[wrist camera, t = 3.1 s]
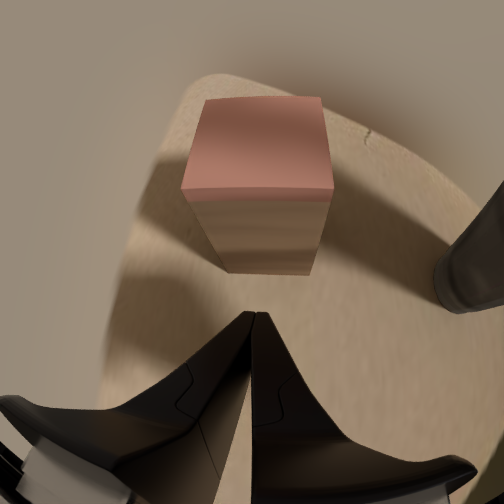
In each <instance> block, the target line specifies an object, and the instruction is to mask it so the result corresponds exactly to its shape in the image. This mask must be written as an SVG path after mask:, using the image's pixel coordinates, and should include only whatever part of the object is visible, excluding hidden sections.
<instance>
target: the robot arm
mask: <svg viewBox="0 0 504 504" xmlns="http://www.w3.org/2000/svg"><path fill="white" fill-rule="evenodd" d="M250 377H251V403H252V481H251V504H450V499H449V495H450V494H451V493H453V492H454V491H456V490H457V489H459V488H460V487H462V486H463V485H465V484H466V483H467V482H469V481H470V480H471V479H473V478H474V477H475V476H476V475H477V473H478V470H477V469H476V468H475V466H474V465H473V464H472V463H470V462H469V461H468V460H465V459H463V458H461V457H459V456H456V455H446V456H442V457H439V458H436V459H432V460H428V461H423V462H411V461H404V460H400V459H397V458H394V457H392V456H389V455H386V454H383V453H381V452H378V451H375V450H373V449H370V448H368V447H365V446H363V445H360V444H358V443H356V442H354V441H352V440H351V439H349V438H348V437H347V436H346V435H345V434H344V433H343V432H342V431H341V430H340V429H339V428H338V426H337V425H336V424H335V423H334V421H333V420H332V419H331V417H330V416H329V415H328V414H327V412H326V411H325V410H324V409H323V407H322V406H321V405H320V403H319V402H318V401H317V399H316V398H315V397H314V395H313V394H312V392H311V391H310V389H309V388H308V386H307V384H306V383H305V381H304V379H303V377H302V375H301V374H300V372H299V370H298V368H297V366H296V364H295V362H294V361H293V359H292V357H291V355H290V353H289V351H288V349H287V347H286V345H285V344H284V342H283V340H282V338H281V336H280V334H279V332H278V330H277V328H276V326H275V324H274V323H273V321H272V319H271V317H270V315H269V313H268V312H256V313H255V312H253V311H243V312H242V313H241V314H240V315H239V316H238V317H236V318H235V319H234V320H233V321H232V322H231V323H230V324H228V325H227V326H226V327H225V328H224V329H223V330H222V331H221V332H219V333H218V334H217V335H216V336H215V337H214V338H212V339H211V340H210V341H209V342H208V343H207V344H205V345H204V346H203V347H202V348H201V349H200V350H198V351H197V352H196V353H195V354H194V355H193V356H191V357H190V358H189V359H188V360H187V361H186V363H185V362H184V363H183V364H182V365H181V366H179V367H178V368H177V369H176V370H174V371H173V372H172V373H170V374H169V375H168V376H167V377H165V378H164V379H162V380H161V381H159V382H158V383H156V384H155V385H153V386H152V387H150V388H149V389H147V390H145V391H144V392H142V393H140V394H139V395H137V396H136V397H134V398H132V399H131V400H129V401H127V402H126V403H124V404H122V405H120V406H118V407H115V408H112V409H106V410H81V409H80V410H79V409H60V408H49V407H43V406H39V405H36V404H33V403H31V402H29V401H28V400H26V399H25V398H23V397H21V396H19V395H5V396H0V411H1V412H2V413H3V415H4V416H5V417H6V418H7V420H8V421H9V422H10V423H11V424H12V425H13V426H14V427H15V428H16V429H17V430H18V431H19V432H20V434H21V435H22V436H23V437H24V438H25V439H26V440H28V442H29V443H30V444H31V445H33V447H32V448H31V450H30V452H29V454H28V455H27V457H26V458H25V460H24V461H22V460H21V459H20V458H19V457H17V456H16V455H15V454H14V453H13V452H12V451H10V450H9V449H8V448H7V447H6V446H5V445H4V444H3V443H1V442H0V504H213V502H214V499H215V496H216V493H217V489H218V486H219V483H220V480H221V477H222V473H223V470H224V467H225V464H226V460H227V457H228V454H229V451H230V447H231V444H232V440H233V437H234V434H235V430H236V427H237V423H238V420H239V416H240V413H241V409H242V406H243V402H244V399H245V395H246V392H247V388H248V384H249V381H250ZM485 504H504V492H503V493H502V494H500V495H499V496H497V497H495V498H494V499H492V500H490V501H489V502H487V503H485Z"/></svg>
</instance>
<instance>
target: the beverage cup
mask: <svg viewBox="0 0 504 504" xmlns="http://www.w3.org/2000/svg"><path fill="white" fill-rule="evenodd" d="M434 286H435V291H436V293H437V296H438V299H439V300H440V302H441V303H442V304H443V306H444V307H445V308H446V309H448V310H449V311H450V312H453V313H456V314H463V313H467V312H477V311H482V310H486V309H490V308H494V307H498V306H501V305H504V181H503V182H502V183H501V185H500V186H499V188H498V189H497V191H496V192H495V193H494V195H493V196H492V198H491V199H490V200H489V201H488V202H487V204H486V205H485V206H484V208H483V209H482V210H481V211H480V213H479V214H478V215H477V216H476V218H475V219H474V220H473V221H472V222H471V224H470V225H469V226H468V227H467V228H466V230H465V231H464V232H463V233H462V234H461V235H460V236H459V238H458V239H457V240H456V241H455V242H454V243H453V244H452V245H451V246H450V248H449V249H448V250H447V251H446V253H445V255H443V256H442V257H441V259H440V260H439V261H438V262H437V265H436V267H435V270H434Z"/></svg>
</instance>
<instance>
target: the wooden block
mask: <svg viewBox="0 0 504 504" xmlns="http://www.w3.org/2000/svg"><path fill="white" fill-rule="evenodd" d="M181 191H182V193H183V194H184V196H185V198H186V200H187V202H188V203H189V205H190V207H191V209H192V211H193V212H194V214H195V216H196V218H197V220H198V221H199V223H200V225H201V227H202V228H203V230H204V232H205V234H206V236H207V237H208V239H209V241H210V243H211V244H212V246H213V248H214V250H215V251H216V253H217V255H218V256H219V258H220V260H221V262H222V263H223V265H224V267H225V269H226V270H227V272H228V273H236V274H266V275H304V276H309V275H310V272H311V269H312V266H313V263H314V259H315V256H316V253H317V249H318V246H319V243H320V239H321V236H322V232H323V229H324V225H325V222H326V218H327V215H328V211H329V207H330V203H331V200H332V196H333V192H334V182H333V174H332V166H331V158H330V151H329V144H328V138H327V132H326V126H325V120H324V114H323V109H322V103H321V99H320V97H303V96H256V97H236V98H222V99H211V100H206V101H205V104H204V107H203V110H202V113H201V117H200V120H199V123H198V126H197V130H196V133H195V137H194V140H193V144H192V147H191V151H190V154H189V158H188V162H187V166H186V169H185V173H184V177H183V181H182V185H181Z"/></svg>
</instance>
